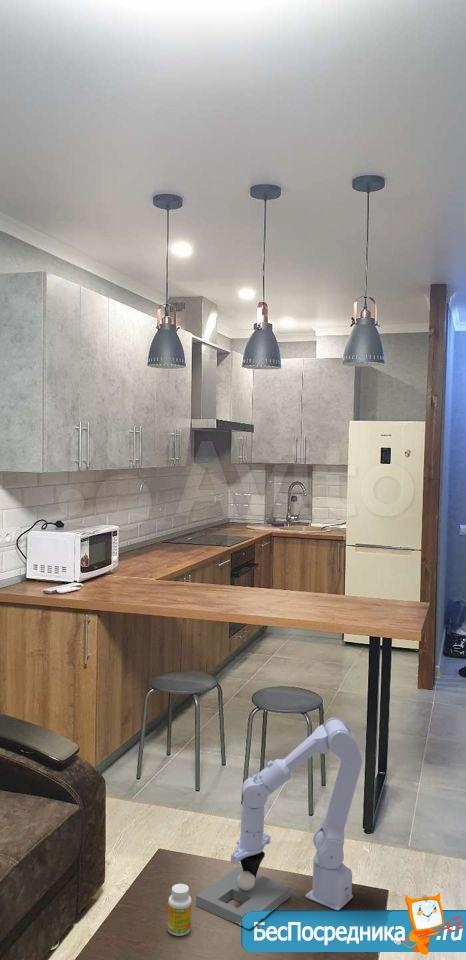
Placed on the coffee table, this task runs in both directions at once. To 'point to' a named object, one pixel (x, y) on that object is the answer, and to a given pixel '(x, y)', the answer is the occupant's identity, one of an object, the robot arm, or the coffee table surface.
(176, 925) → the supplement bottle
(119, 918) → the coffee table surface
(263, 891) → the plate
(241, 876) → the ball
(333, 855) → the robot arm
